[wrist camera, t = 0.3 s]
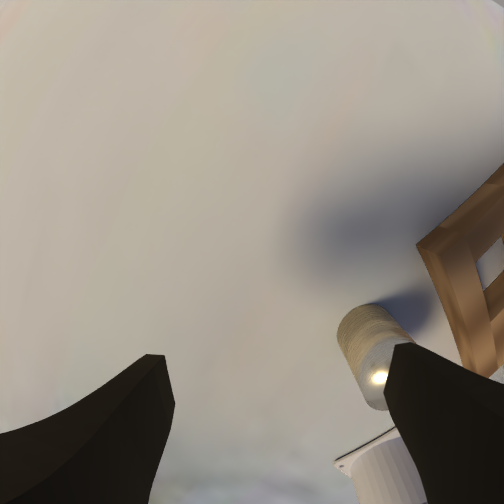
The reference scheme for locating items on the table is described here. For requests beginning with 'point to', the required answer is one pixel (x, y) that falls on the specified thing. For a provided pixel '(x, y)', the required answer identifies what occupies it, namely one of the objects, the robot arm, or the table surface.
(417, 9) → the table surface
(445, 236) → the jig
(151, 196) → the table surface
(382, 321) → the metal cylinder
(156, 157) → the table surface
